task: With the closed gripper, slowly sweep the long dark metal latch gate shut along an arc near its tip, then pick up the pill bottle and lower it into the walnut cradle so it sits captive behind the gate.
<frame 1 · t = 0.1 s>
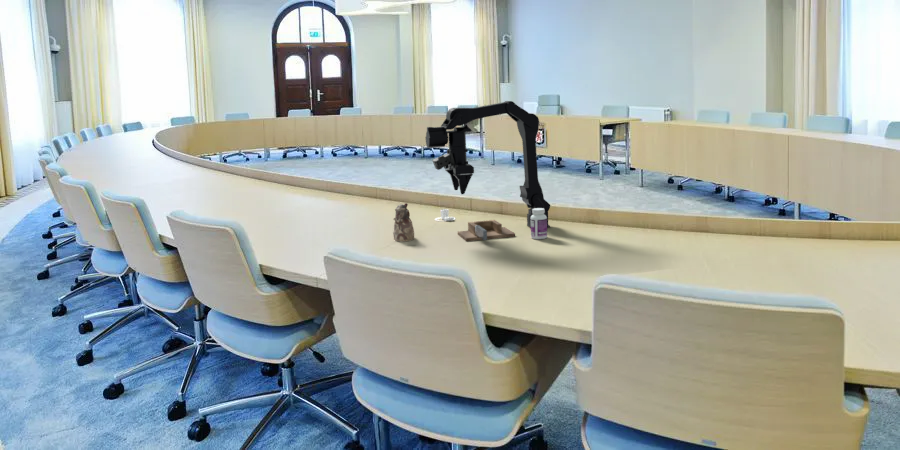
hand: (459, 192, 234), 15 cm above the table, fingers open, 9 cm apart
pill bottle: (539, 238, 227), on the table
figurine: (404, 239, 234), on the table
cradle board: (485, 235, 234), on the table
teacup and saucer: (440, 222, 261), on the table
latch gate: (480, 232, 225), point 3 cm above the table, hinge at -90.0°
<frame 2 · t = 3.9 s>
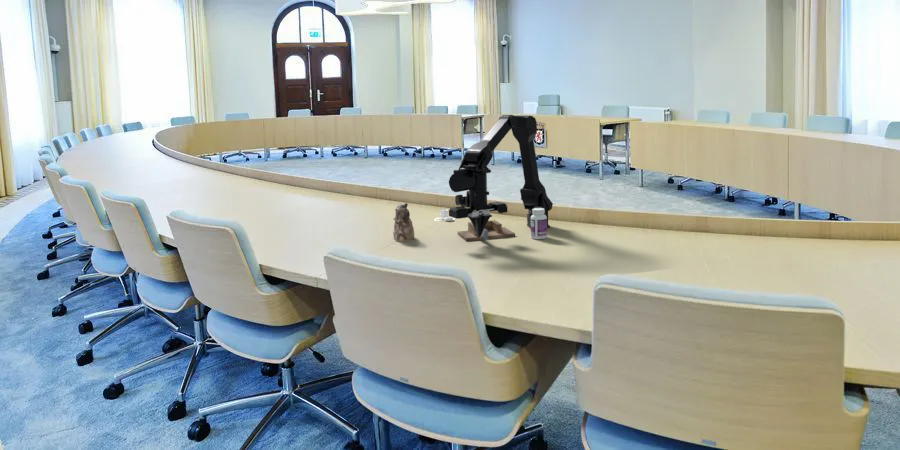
hand: (478, 236, 221), 3 cm above the table, fingers closed
latch gate: (481, 232, 225), point 3 cm above the table, hinge at -87.2°, touching gripper
everything else where it was.
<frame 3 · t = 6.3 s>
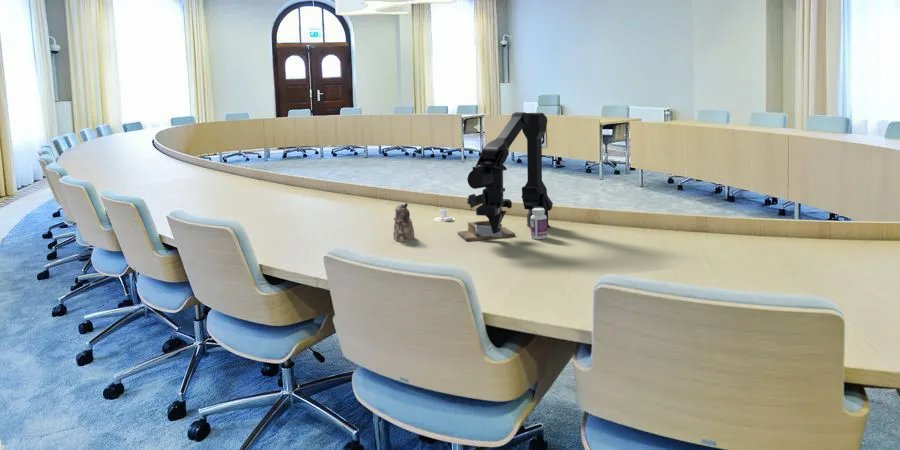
hand: (494, 233, 223), 3 cm above the table, fingers closed
latch gate: (488, 230, 226), point 3 cm above the table, hinge at -42.5°, touching gripper
everything else where it was.
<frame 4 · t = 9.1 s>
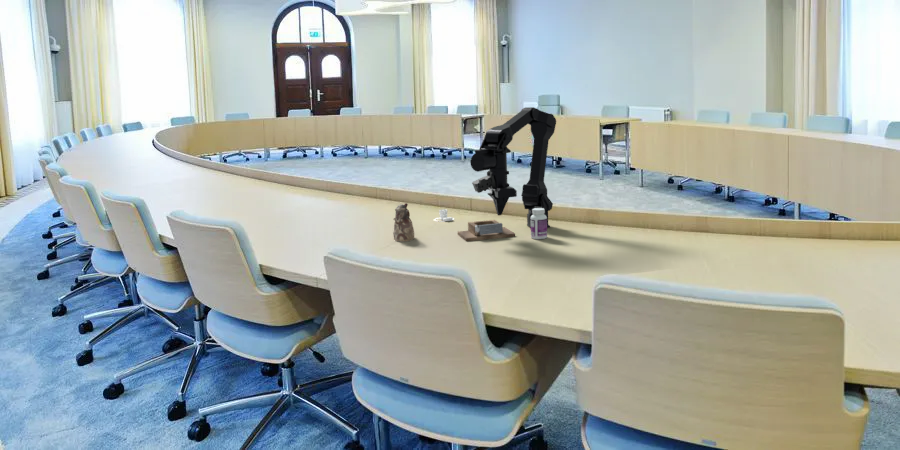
hand: (499, 215, 227), 8 cm above the table, fingers closed
latch gate: (488, 229, 229), point 3 cm above the table, hinge at 1.2°
everything else where it was.
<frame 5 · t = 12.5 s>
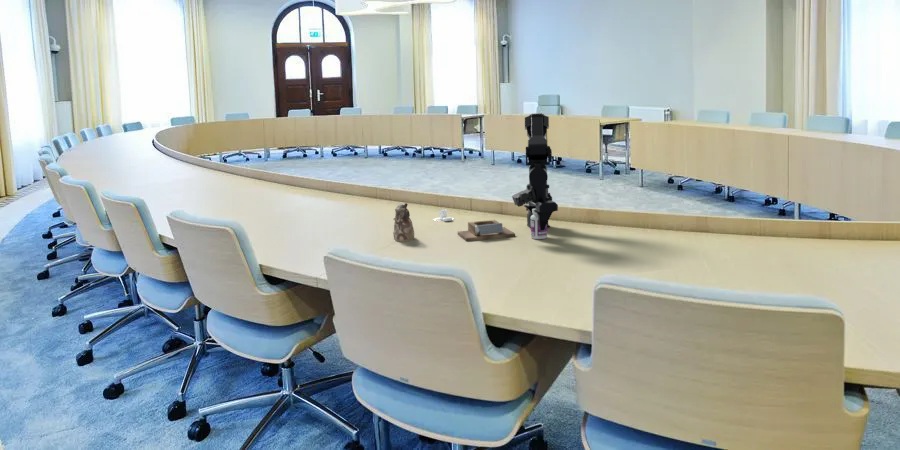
hand: (538, 228, 226), 3 cm above the table, fingers closed on pill bottle, 5 cm apart
pill bottle: (539, 238, 227), on the table, touching gripper
everything else where it was.
when the fingers open (5 cm above the table, at t = 17.2 s): pill bottle drops 1 cm, resting on cradle board.
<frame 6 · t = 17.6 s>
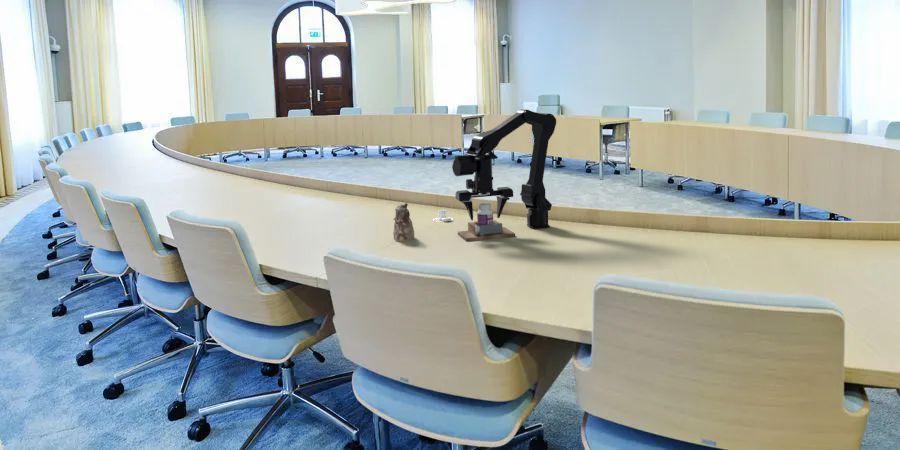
hand: (485, 219, 233), 5 cm above the table, fingers open, 9 cm apart
pill bottle: (485, 232, 234), point 1 cm above the table, touching cradle board
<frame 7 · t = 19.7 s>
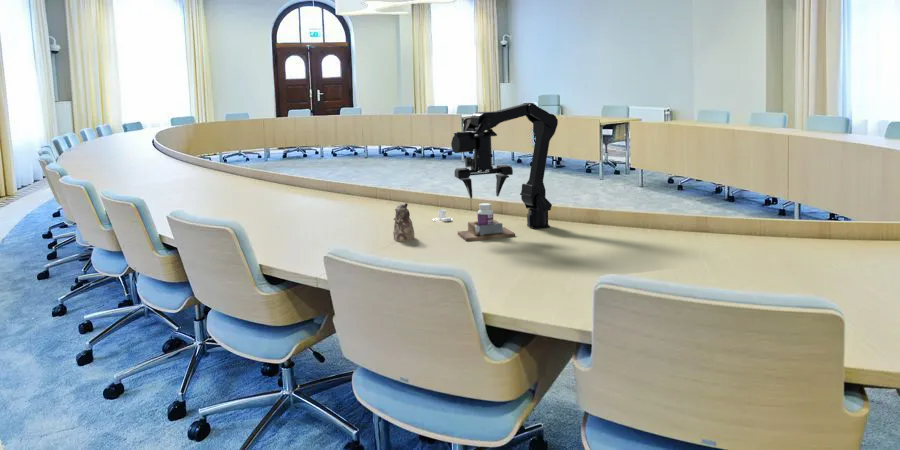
hand: (484, 197, 231), 13 cm above the table, fingers open, 9 cm apart
at the end: pill bottle 0.1 cm off-centre on the cradle board, point 0.8 cm above the cradle board's base; latch gate at +1° (first picture: -90°); pill bottle tilted 0° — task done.
